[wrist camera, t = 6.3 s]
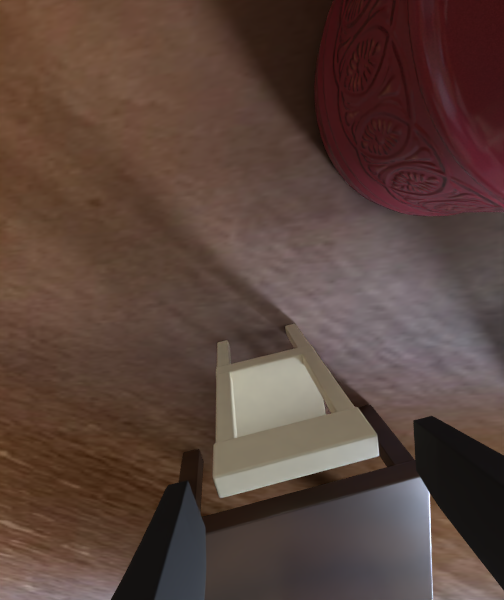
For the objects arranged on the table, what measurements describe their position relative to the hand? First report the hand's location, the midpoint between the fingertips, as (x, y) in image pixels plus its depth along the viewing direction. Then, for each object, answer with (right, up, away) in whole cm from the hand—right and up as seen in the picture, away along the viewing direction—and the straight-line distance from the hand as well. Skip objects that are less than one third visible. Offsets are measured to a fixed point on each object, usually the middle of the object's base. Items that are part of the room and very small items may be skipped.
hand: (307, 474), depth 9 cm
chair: (-1, +1, +10) cm, 10 cm away
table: (+1, -9, +13) cm, 16 cm away
